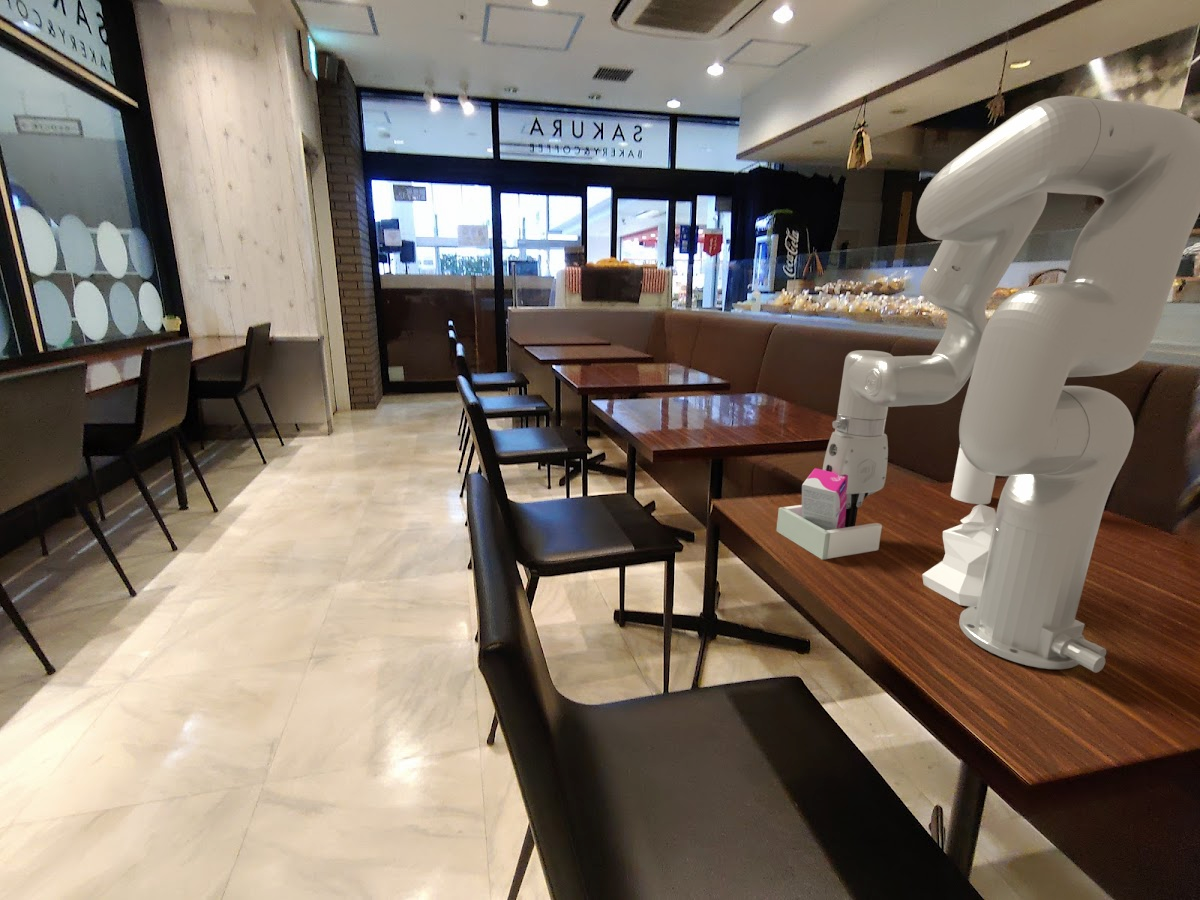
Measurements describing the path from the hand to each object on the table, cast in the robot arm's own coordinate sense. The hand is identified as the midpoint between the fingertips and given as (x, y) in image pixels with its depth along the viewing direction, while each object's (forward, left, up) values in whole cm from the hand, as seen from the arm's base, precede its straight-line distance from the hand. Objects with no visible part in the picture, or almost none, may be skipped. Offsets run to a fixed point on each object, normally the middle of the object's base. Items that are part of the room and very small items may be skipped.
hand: (844, 526), depth 102 cm
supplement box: (0, +5, -1) cm, 5 cm away
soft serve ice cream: (-23, -3, -2) cm, 23 cm away
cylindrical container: (+7, -39, -2) cm, 40 cm away
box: (-1, +5, -2) cm, 5 cm away
